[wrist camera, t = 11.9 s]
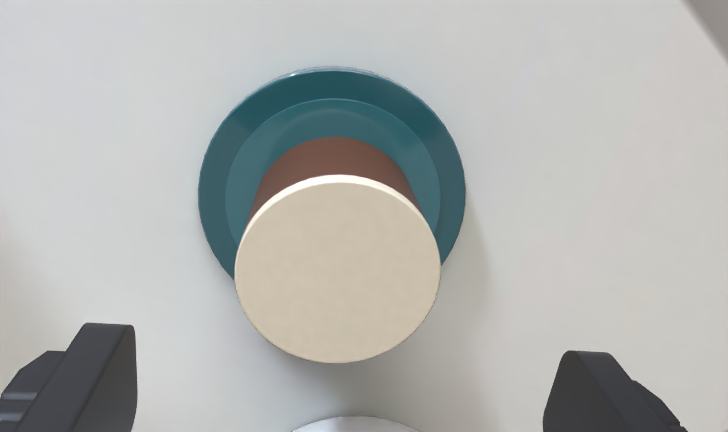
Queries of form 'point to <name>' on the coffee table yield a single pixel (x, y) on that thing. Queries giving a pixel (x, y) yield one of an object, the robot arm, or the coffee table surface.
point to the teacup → (355, 425)
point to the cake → (336, 254)
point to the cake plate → (328, 119)
